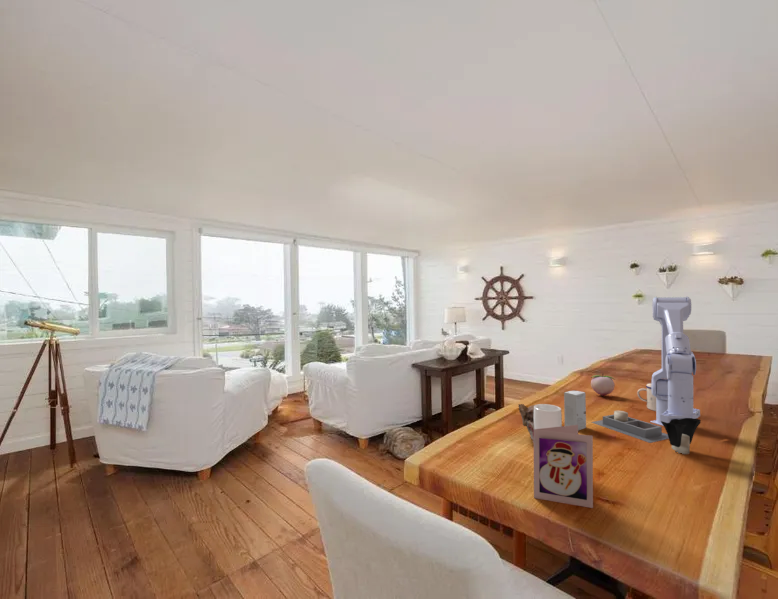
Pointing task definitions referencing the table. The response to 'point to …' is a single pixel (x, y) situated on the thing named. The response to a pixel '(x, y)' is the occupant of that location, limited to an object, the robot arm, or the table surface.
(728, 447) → the table surface
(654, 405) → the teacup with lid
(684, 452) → the cream cylinder
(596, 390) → the decorative fruit
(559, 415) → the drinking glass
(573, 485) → the greeting card
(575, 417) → the skincare box
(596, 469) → the table surface
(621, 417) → the beige round piece
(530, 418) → the seed pod
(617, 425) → the gray compartment tray
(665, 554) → the table surface
